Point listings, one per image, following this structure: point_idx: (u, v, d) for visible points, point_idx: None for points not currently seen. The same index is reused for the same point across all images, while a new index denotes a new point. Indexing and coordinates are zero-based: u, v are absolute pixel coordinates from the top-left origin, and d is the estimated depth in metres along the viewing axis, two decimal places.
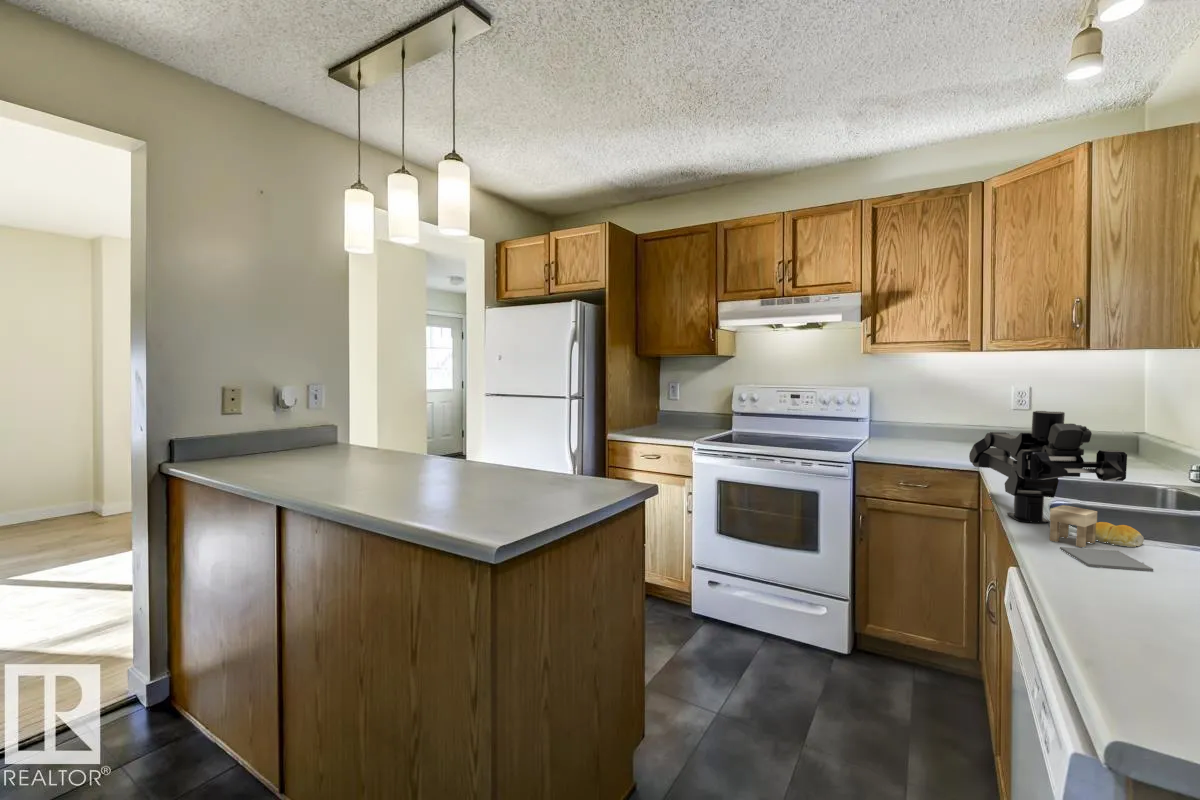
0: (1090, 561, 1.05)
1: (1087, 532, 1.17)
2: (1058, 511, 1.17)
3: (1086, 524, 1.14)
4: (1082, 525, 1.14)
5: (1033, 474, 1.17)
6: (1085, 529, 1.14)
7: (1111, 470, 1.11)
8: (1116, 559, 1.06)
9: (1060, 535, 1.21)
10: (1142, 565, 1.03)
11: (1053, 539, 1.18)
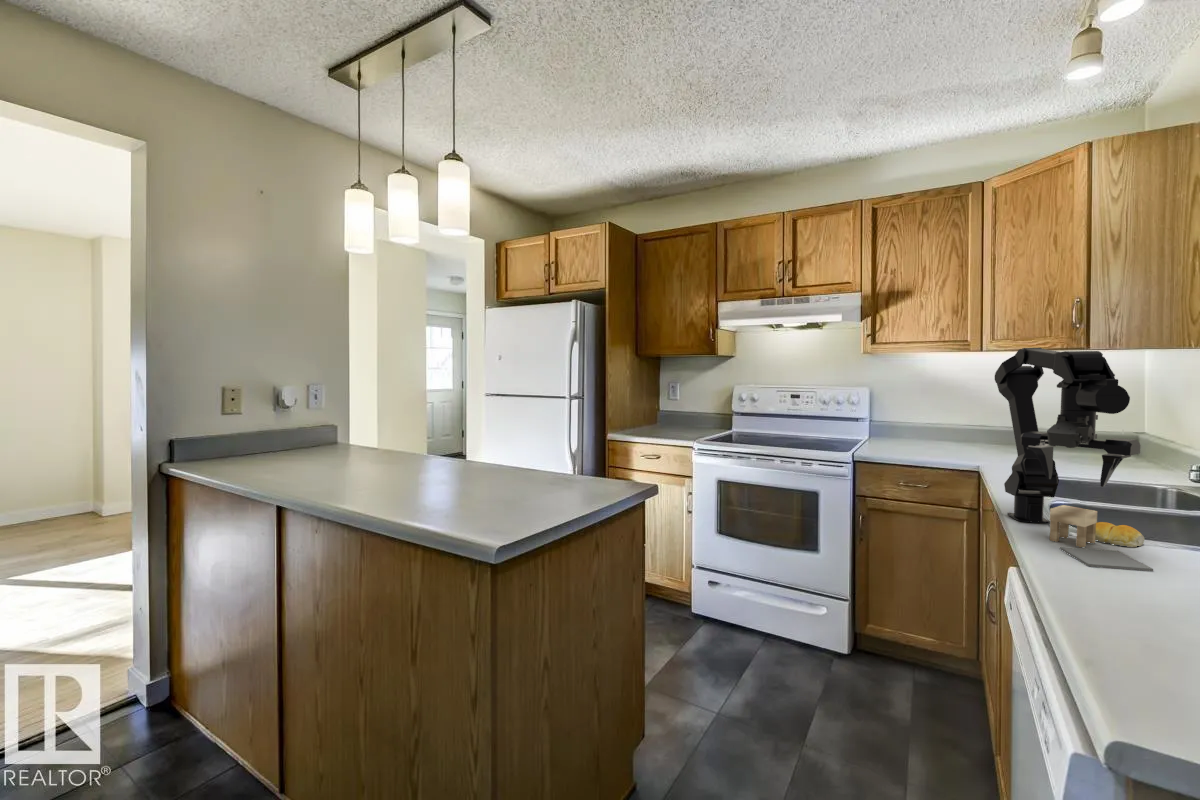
0: (1090, 561, 1.05)
1: (1087, 532, 1.17)
2: (1058, 511, 1.17)
3: (1086, 524, 1.14)
4: (1082, 525, 1.14)
5: None
6: (1085, 529, 1.14)
7: None
8: (1116, 559, 1.06)
9: (1060, 535, 1.21)
10: (1142, 565, 1.03)
11: (1053, 539, 1.18)
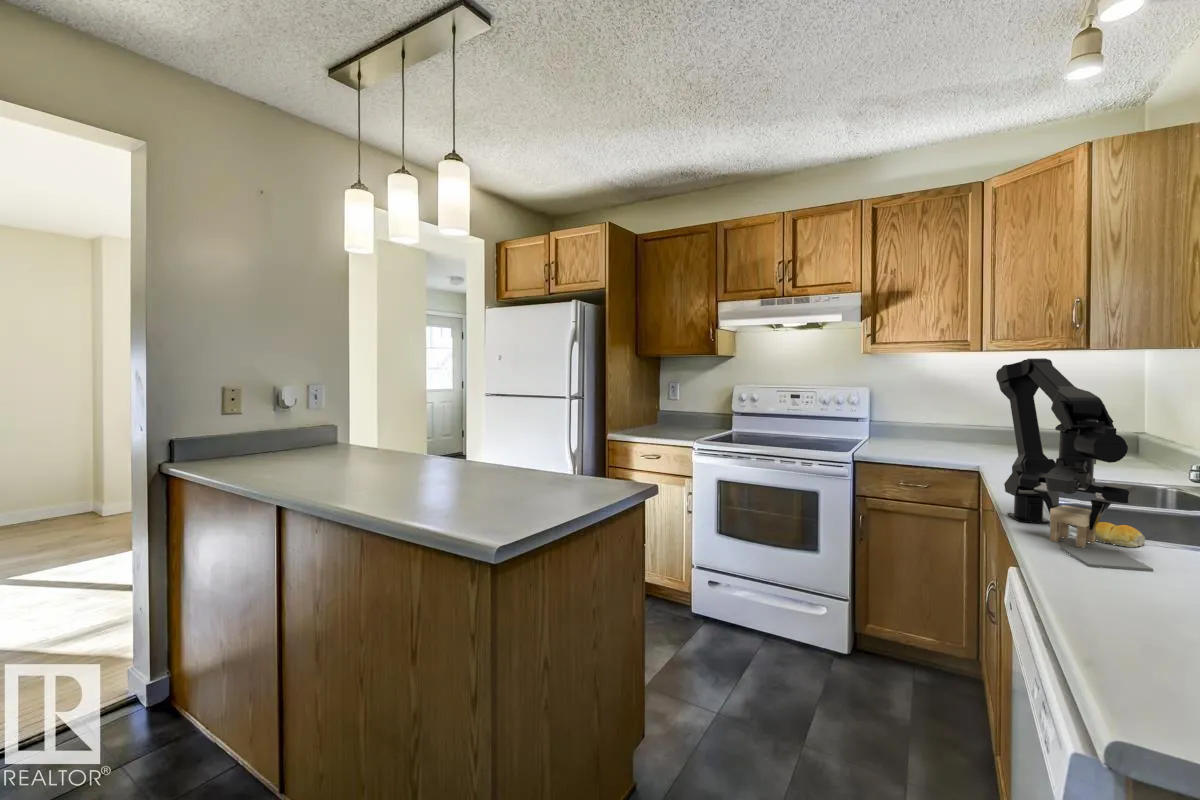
0: (1090, 561, 1.05)
1: (1087, 532, 1.17)
2: (1058, 511, 1.17)
3: (1086, 524, 1.14)
4: (1082, 525, 1.14)
5: None
6: (1085, 529, 1.14)
7: None
8: (1116, 559, 1.06)
9: (1060, 535, 1.21)
10: (1142, 565, 1.03)
11: (1053, 539, 1.18)
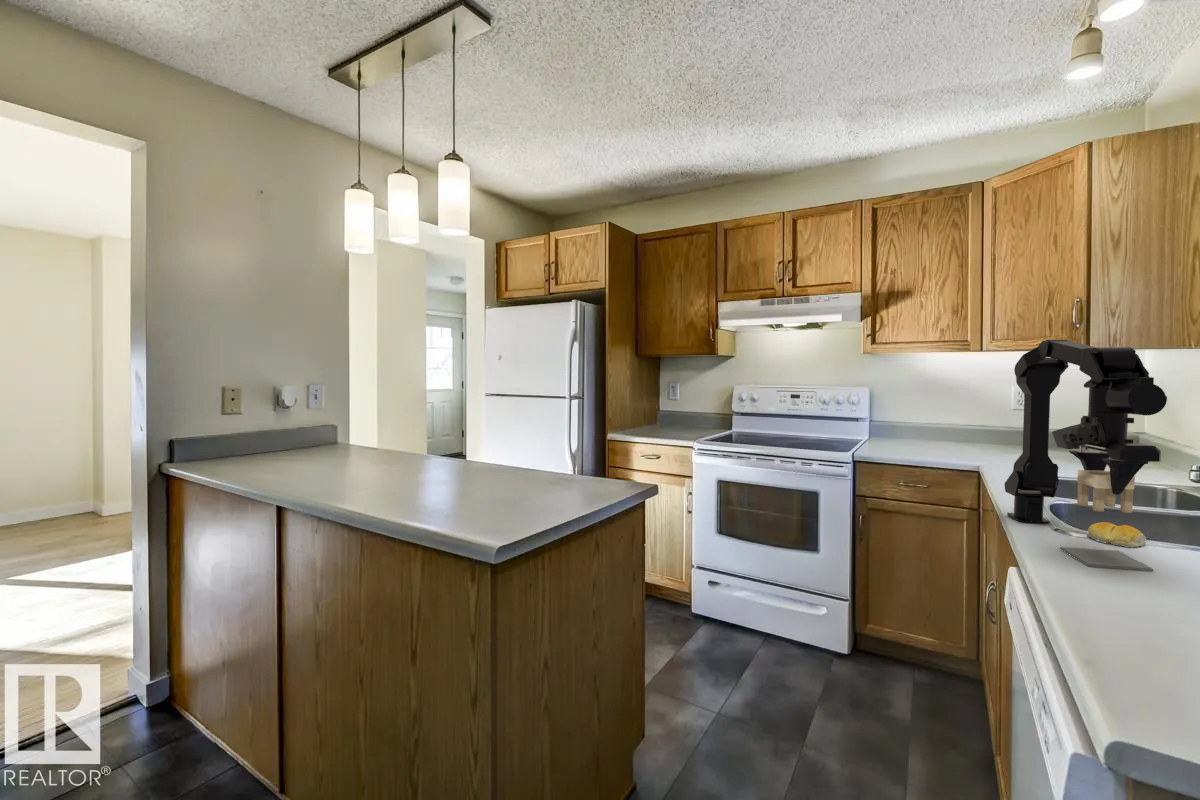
0: (1090, 561, 1.05)
1: (1121, 499, 1.05)
2: (1082, 472, 1.09)
3: (1102, 486, 1.05)
4: (1096, 486, 1.05)
5: None
6: (1101, 491, 1.05)
7: None
8: (1116, 559, 1.06)
9: (1104, 503, 1.10)
10: (1142, 565, 1.03)
11: (1079, 503, 1.10)
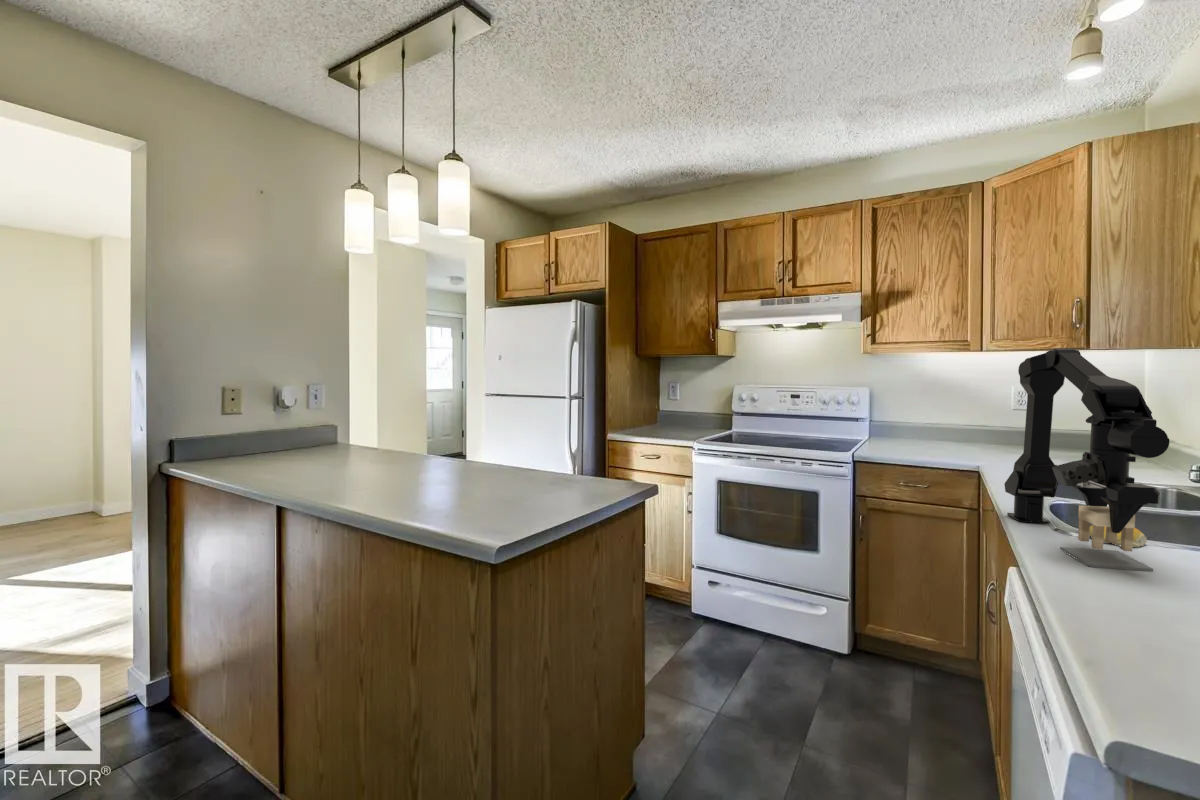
0: (1090, 561, 1.05)
1: (1122, 537, 1.05)
2: (1083, 508, 1.09)
3: (1101, 524, 1.04)
4: (1095, 524, 1.05)
5: None
6: (1100, 529, 1.05)
7: None
8: (1116, 559, 1.06)
9: (1106, 539, 1.09)
10: (1142, 565, 1.03)
11: (1080, 538, 1.10)
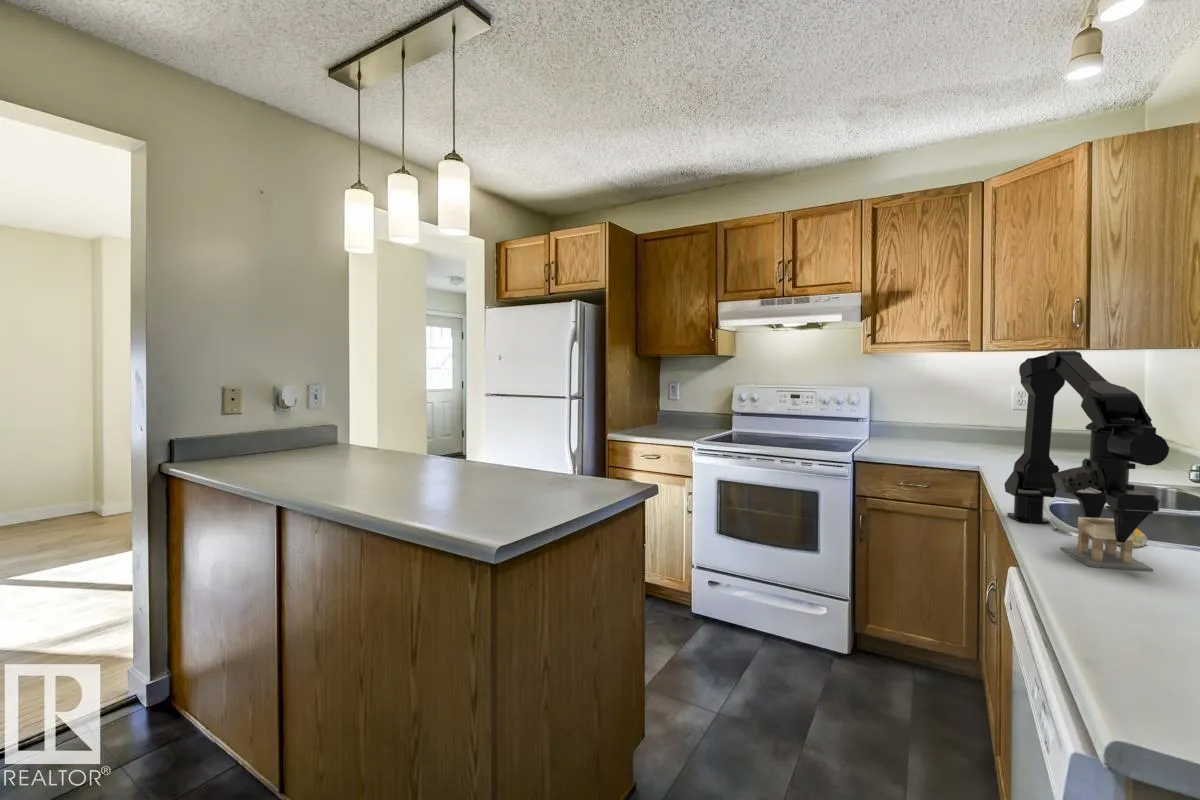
0: (1090, 561, 1.05)
1: (1121, 549, 1.05)
2: (1082, 519, 1.09)
3: (1101, 536, 1.05)
4: (1094, 536, 1.05)
5: None
6: (1100, 541, 1.05)
7: None
8: (1116, 559, 1.06)
9: (1105, 551, 1.09)
10: (1142, 565, 1.03)
11: (1079, 550, 1.10)
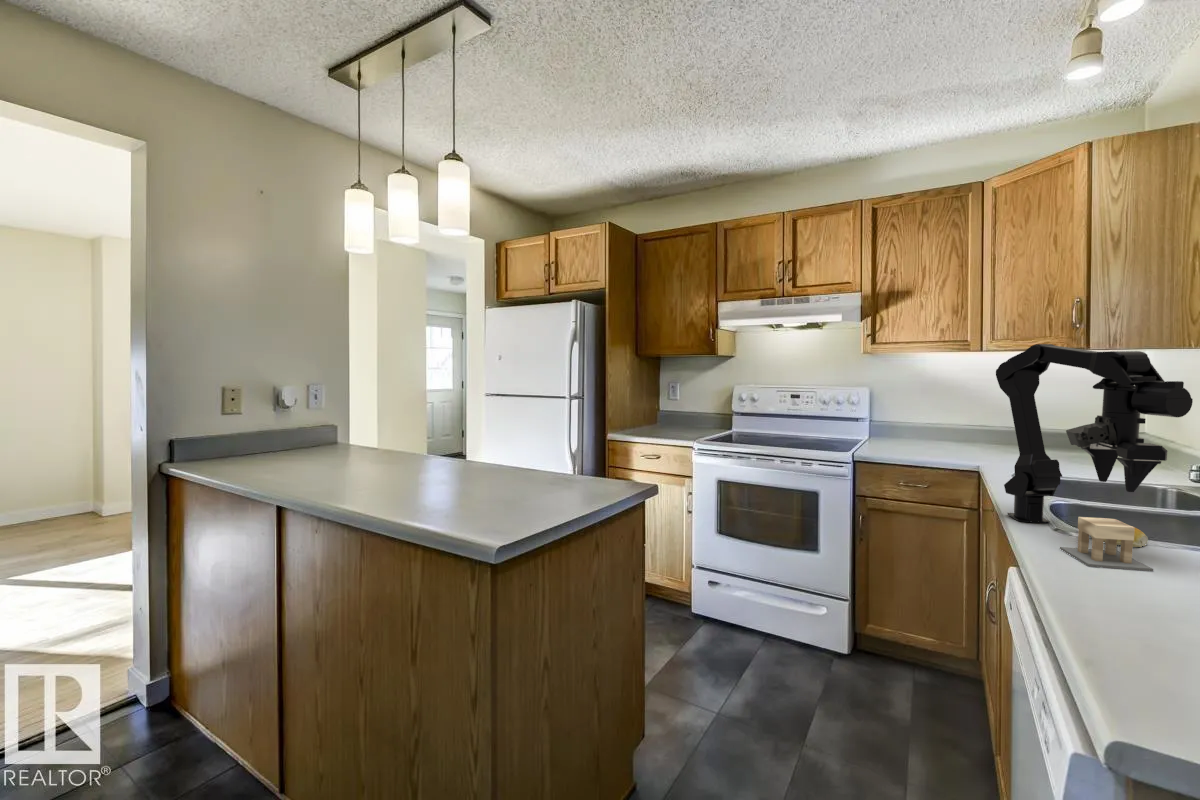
0: (1090, 561, 1.05)
1: (1121, 549, 1.05)
2: (1082, 519, 1.09)
3: (1101, 536, 1.05)
4: (1094, 536, 1.05)
5: None
6: (1100, 541, 1.05)
7: None
8: (1116, 559, 1.06)
9: (1105, 551, 1.09)
10: (1142, 565, 1.03)
11: (1079, 550, 1.10)
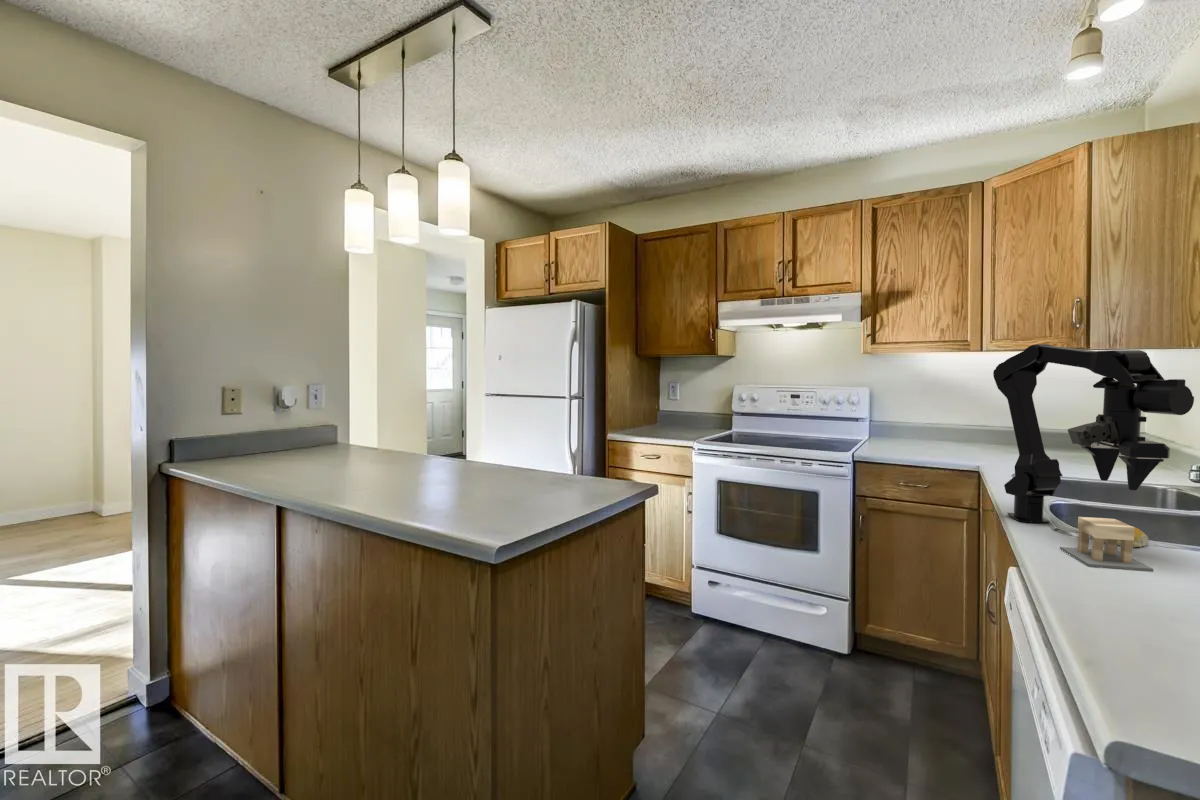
0: (1090, 561, 1.05)
1: (1121, 549, 1.05)
2: (1082, 519, 1.09)
3: (1101, 536, 1.05)
4: (1094, 536, 1.05)
5: None
6: (1100, 541, 1.05)
7: None
8: (1116, 559, 1.06)
9: (1105, 551, 1.09)
10: (1142, 565, 1.03)
11: (1079, 550, 1.10)
